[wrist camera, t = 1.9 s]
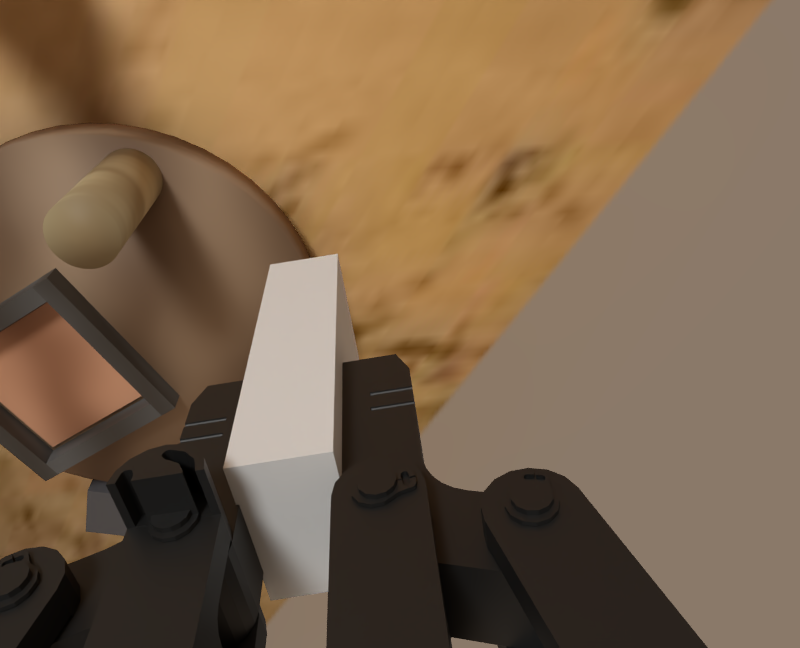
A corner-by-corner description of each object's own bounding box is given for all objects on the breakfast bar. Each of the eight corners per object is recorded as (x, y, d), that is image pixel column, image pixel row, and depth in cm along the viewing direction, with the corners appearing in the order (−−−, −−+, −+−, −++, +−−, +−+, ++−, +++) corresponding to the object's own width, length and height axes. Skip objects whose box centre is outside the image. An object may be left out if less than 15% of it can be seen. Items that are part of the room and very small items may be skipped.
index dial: (-61, 431, 35) (-160, 555, 28) (-93, 74, 26) (-247, 123, 19) (288, 479, 38) (276, 599, 31) (358, 176, 30) (364, 249, 23)
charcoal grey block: (102, 491, 39) (85, 531, 36) (105, 452, 38) (87, 490, 35) (145, 497, 39) (131, 536, 37) (149, 458, 38) (135, 496, 35)
